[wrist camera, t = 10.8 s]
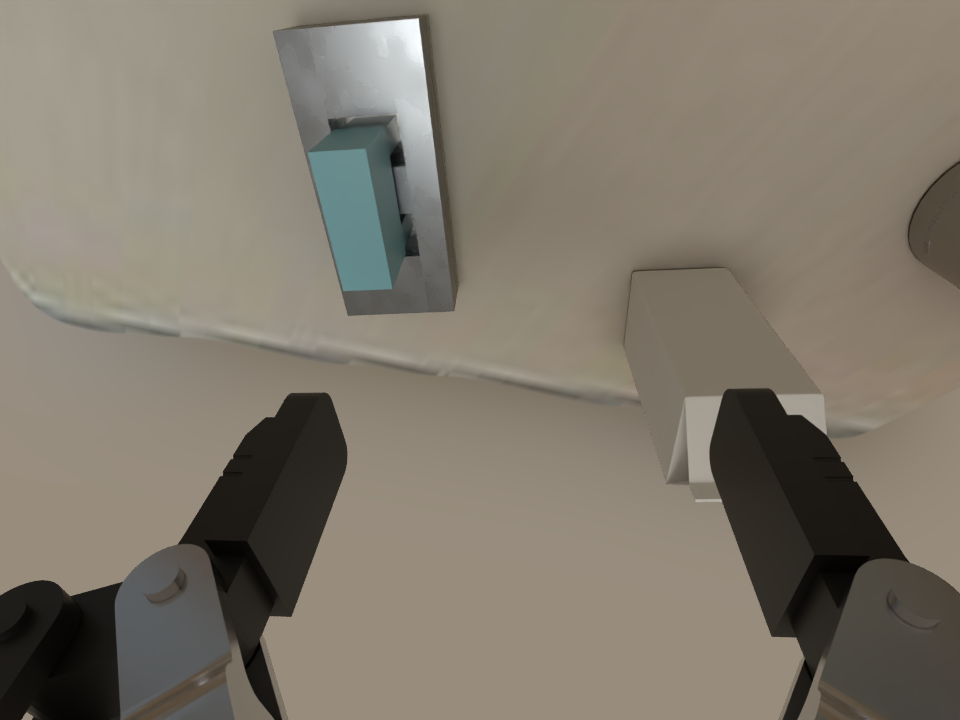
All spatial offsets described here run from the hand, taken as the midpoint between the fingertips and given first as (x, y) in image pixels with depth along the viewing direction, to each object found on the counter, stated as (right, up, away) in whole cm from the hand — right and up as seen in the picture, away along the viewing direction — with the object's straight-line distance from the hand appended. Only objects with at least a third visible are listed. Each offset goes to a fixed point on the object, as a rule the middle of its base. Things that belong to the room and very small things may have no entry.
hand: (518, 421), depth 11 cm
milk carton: (+15, +6, +31) cm, 35 cm away
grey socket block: (-7, +14, +25) cm, 30 cm away
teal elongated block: (-7, +14, +25) cm, 30 cm away
